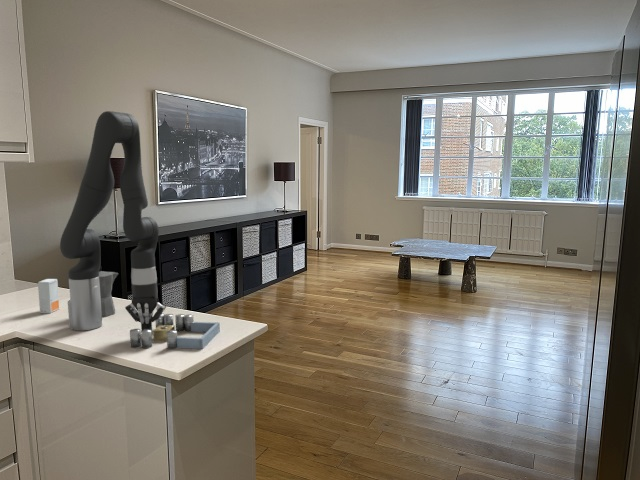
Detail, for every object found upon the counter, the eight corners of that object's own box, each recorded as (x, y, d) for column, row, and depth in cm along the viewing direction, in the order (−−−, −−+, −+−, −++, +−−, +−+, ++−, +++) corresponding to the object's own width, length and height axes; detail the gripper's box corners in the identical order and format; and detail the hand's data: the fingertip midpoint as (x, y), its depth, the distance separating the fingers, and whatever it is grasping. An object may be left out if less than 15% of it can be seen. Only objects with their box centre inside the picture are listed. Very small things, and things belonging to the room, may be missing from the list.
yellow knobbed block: (154, 341, 150) (153, 329, 149) (159, 335, 155) (159, 324, 154) (169, 341, 150) (169, 330, 149) (174, 335, 155) (174, 325, 154)
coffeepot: (117, 308, 186) (114, 262, 184) (124, 313, 179) (122, 266, 176) (73, 315, 176) (70, 267, 174) (79, 321, 169) (76, 271, 167)
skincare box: (51, 313, 179) (48, 282, 177) (39, 313, 179) (37, 282, 177) (60, 309, 185) (57, 278, 183) (49, 308, 185) (46, 278, 183)
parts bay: (172, 347, 144) (172, 337, 143) (192, 330, 160) (191, 321, 159) (203, 348, 143) (202, 339, 142) (219, 331, 159) (219, 322, 158)
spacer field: (128, 347, 144) (127, 331, 143) (156, 327, 162) (156, 313, 162) (175, 349, 142) (174, 333, 141) (198, 329, 161) (197, 314, 160)
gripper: (118, 283, 147) (121, 337, 150) (159, 284, 146) (161, 338, 148) (130, 278, 155) (133, 329, 157) (169, 278, 153) (171, 331, 156)
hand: (147, 334), depth 153 cm, fingers closed
